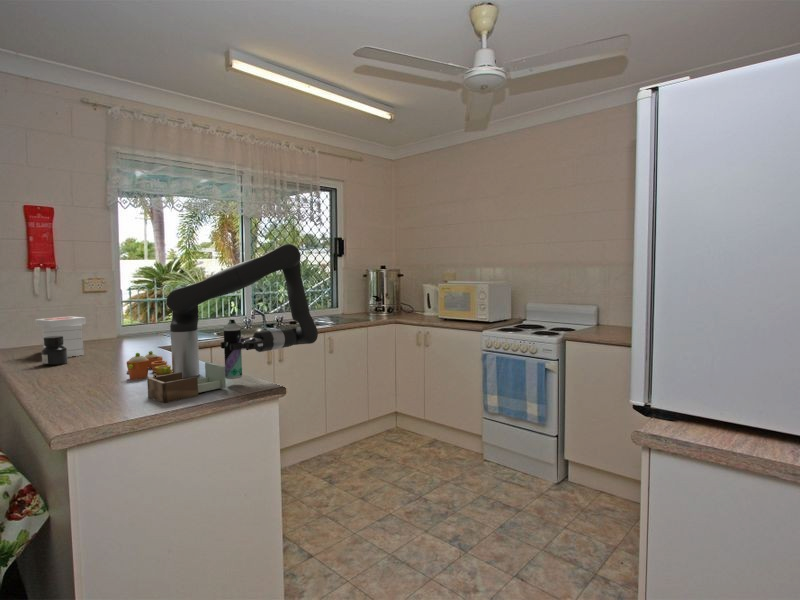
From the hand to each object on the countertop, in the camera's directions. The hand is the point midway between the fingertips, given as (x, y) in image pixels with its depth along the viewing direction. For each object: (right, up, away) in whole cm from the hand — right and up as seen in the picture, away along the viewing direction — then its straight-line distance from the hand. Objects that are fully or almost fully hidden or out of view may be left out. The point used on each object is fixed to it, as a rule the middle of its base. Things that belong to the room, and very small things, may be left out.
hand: (225, 346), depth 156 cm
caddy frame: (-12, -15, -10) cm, 22 cm away
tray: (-7, -14, -4) cm, 16 cm away
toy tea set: (-40, -13, +25) cm, 49 cm away
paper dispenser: (-107, -11, +70) cm, 128 cm away
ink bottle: (-91, -12, +45) cm, 102 cm away
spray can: (+2, -11, +3) cm, 11 cm away
